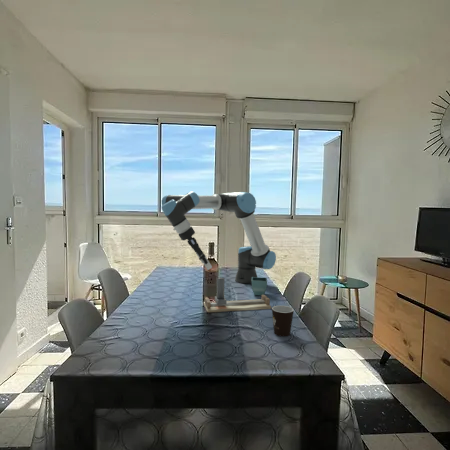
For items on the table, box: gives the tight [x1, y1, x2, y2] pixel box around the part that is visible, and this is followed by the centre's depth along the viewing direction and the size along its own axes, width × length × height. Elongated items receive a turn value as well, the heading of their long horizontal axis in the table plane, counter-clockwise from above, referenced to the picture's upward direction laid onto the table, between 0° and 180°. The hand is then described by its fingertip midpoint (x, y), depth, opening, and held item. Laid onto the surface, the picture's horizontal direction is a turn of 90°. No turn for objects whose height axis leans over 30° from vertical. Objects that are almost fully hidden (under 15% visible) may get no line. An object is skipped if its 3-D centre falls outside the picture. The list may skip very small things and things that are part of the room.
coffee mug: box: [271, 305, 294, 338], centre depth 131 cm, size 12×9×10 cm
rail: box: [203, 294, 272, 313], centre depth 162 cm, size 12×32×4 cm, turn 103°
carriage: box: [214, 277, 228, 305], centre depth 160 cm, size 7×4×12 cm, turn 13°
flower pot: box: [251, 276, 268, 296], centre depth 184 cm, size 9×9×9 cm
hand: (207, 265), depth 161 cm, fingers open, 13 cm apart
